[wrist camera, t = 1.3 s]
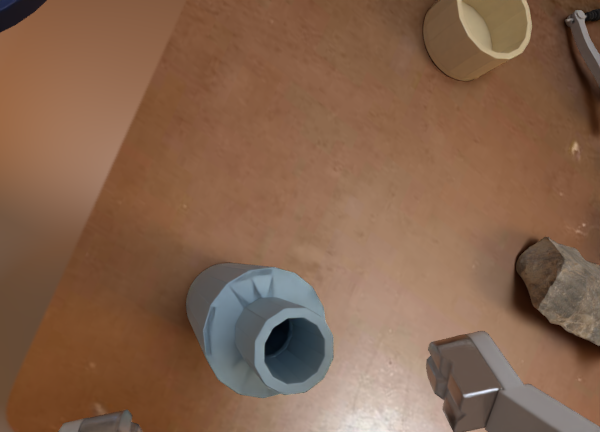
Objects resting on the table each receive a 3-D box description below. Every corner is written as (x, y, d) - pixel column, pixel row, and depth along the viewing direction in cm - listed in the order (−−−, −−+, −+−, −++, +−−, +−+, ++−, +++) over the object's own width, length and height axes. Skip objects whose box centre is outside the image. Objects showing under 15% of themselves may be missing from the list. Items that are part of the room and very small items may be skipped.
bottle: (171, 288, 30) (184, 326, 14) (240, 249, 32) (321, 243, 16) (209, 356, 30) (266, 469, 14) (275, 313, 32) (389, 370, 16)
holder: (408, 13, 40) (441, -20, 35) (468, -11, 43) (506, -44, 38) (447, 93, 40) (485, 72, 36) (503, 64, 43) (545, 41, 39)
